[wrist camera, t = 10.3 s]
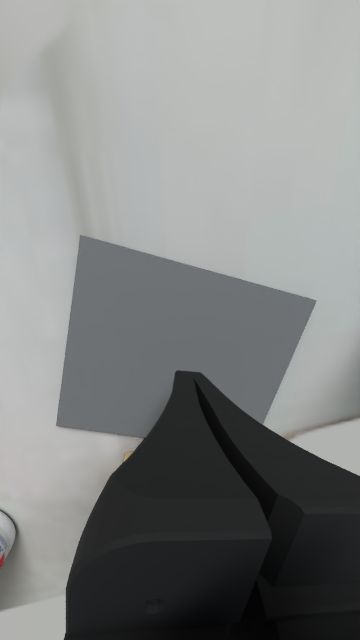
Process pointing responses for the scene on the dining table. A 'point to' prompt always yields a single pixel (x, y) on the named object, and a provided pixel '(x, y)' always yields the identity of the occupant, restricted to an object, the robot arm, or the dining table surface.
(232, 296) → the mat
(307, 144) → the dining table surface
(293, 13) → the dining table surface
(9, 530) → the pill bottle
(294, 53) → the dining table surface
